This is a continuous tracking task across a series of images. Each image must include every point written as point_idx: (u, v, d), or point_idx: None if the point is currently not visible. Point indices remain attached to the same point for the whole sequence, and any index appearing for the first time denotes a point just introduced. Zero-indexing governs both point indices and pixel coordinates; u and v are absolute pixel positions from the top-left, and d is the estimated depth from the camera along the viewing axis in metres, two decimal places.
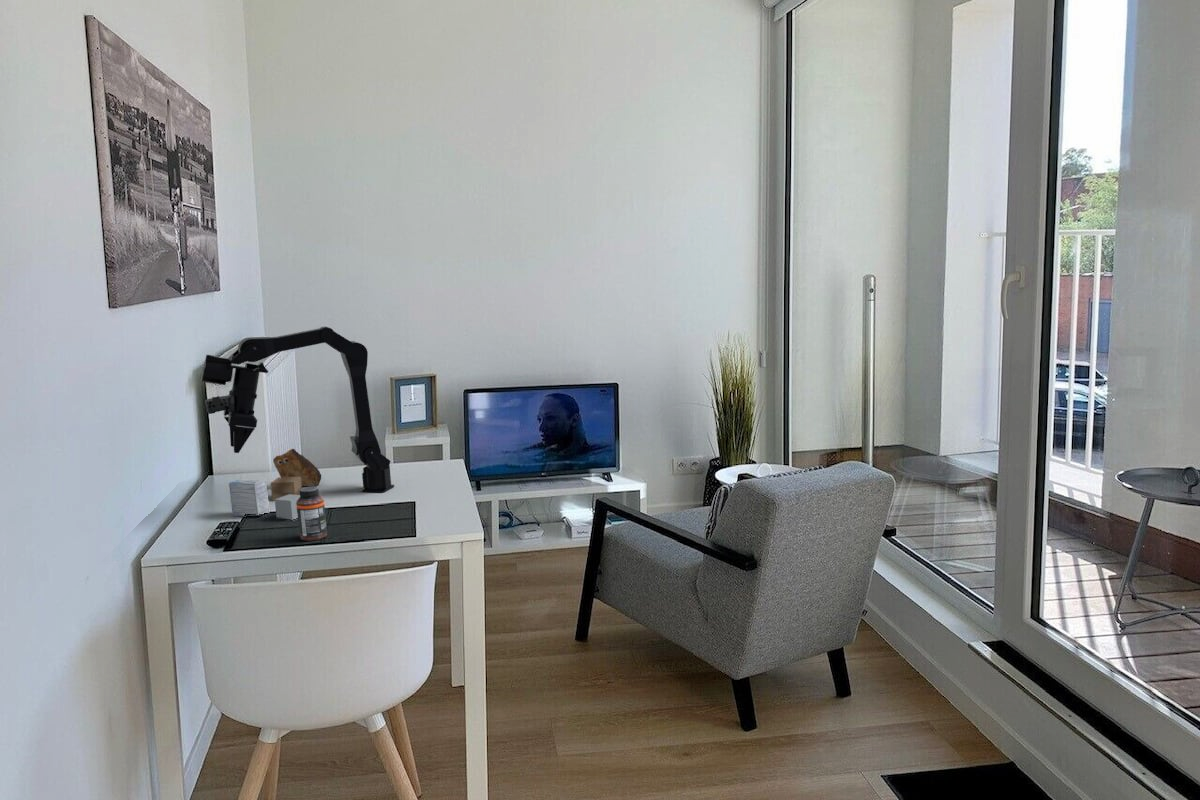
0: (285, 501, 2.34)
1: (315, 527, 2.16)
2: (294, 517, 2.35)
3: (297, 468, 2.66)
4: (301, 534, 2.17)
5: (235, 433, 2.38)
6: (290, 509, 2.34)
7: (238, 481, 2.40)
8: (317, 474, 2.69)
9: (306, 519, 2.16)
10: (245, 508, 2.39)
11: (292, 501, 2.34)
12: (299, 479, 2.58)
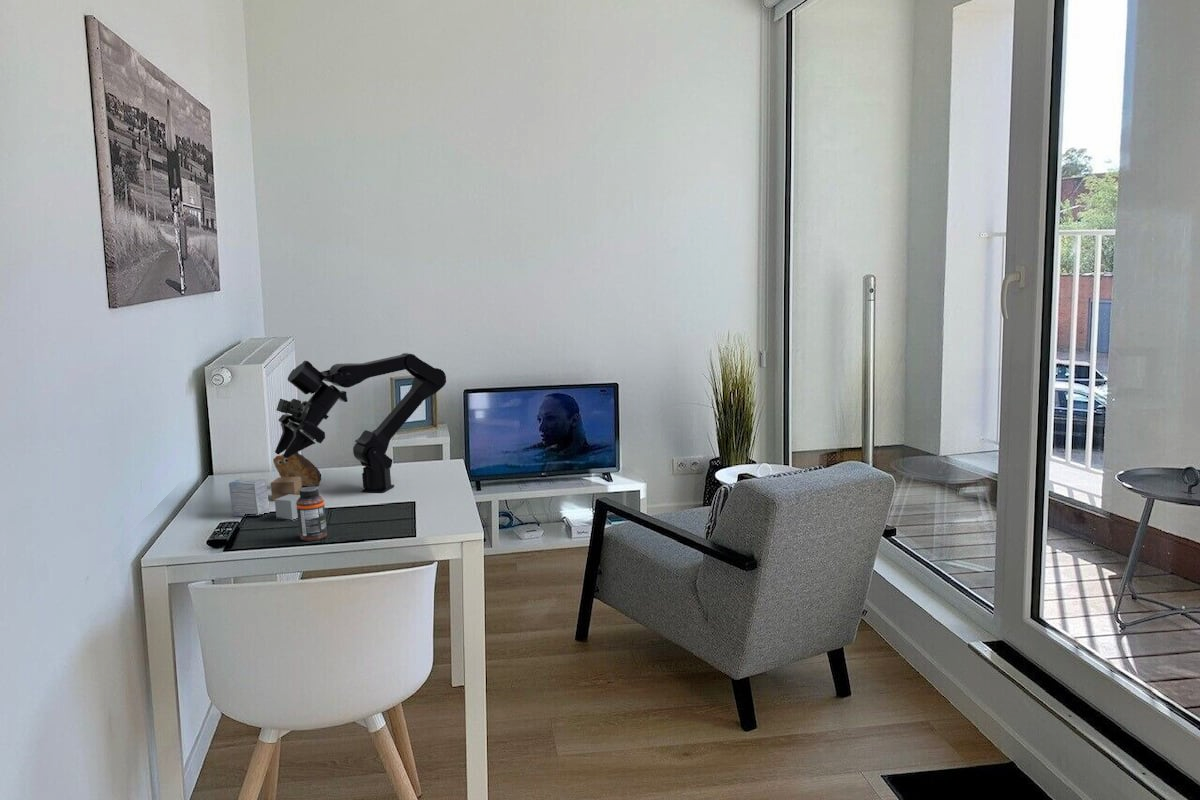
0: (285, 501, 2.34)
1: (315, 527, 2.16)
2: (294, 517, 2.35)
3: (297, 468, 2.66)
4: (301, 534, 2.17)
5: (296, 439, 2.42)
6: (290, 509, 2.34)
7: (238, 481, 2.40)
8: (317, 474, 2.69)
9: (306, 519, 2.16)
10: (245, 508, 2.39)
11: (292, 501, 2.34)
12: (299, 479, 2.58)
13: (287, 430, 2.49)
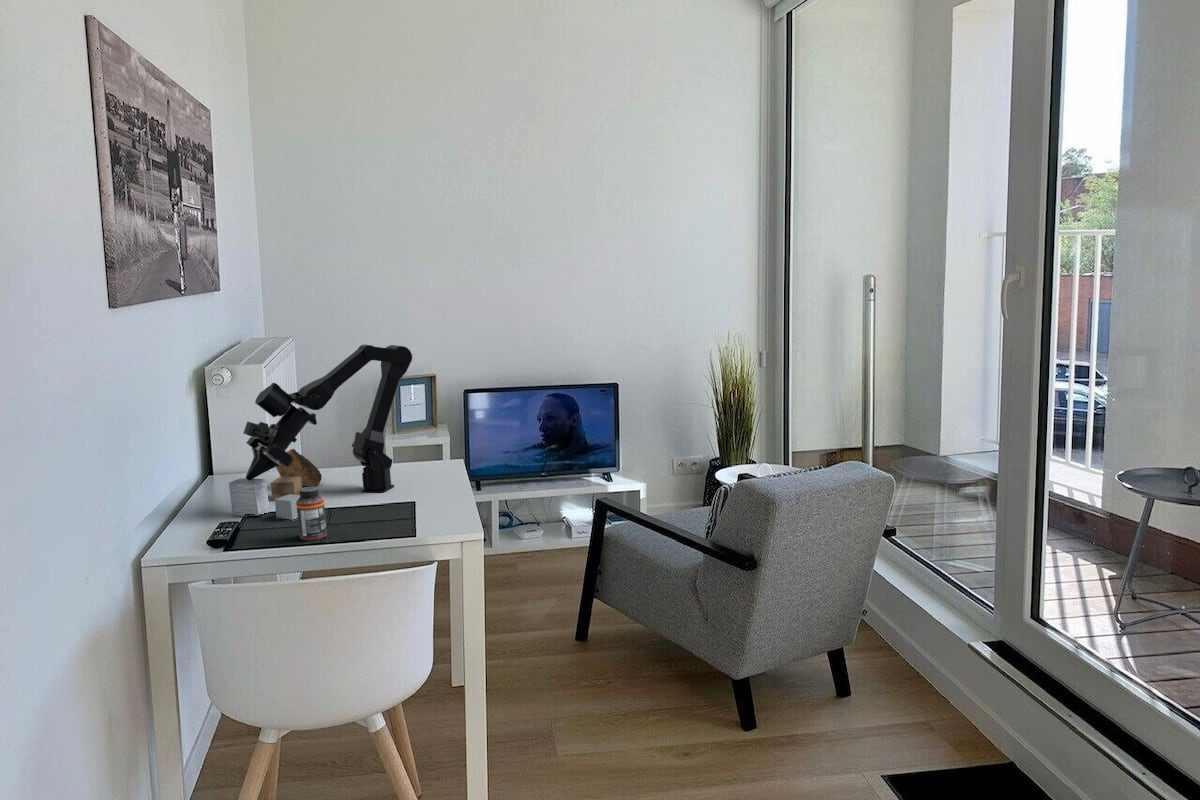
0: (285, 501, 2.34)
1: (315, 527, 2.16)
2: (294, 517, 2.35)
3: (297, 468, 2.66)
4: (301, 534, 2.17)
5: (259, 461, 2.40)
6: (291, 509, 2.34)
7: (238, 481, 2.40)
8: (317, 474, 2.68)
9: (306, 519, 2.16)
10: (245, 508, 2.39)
11: (292, 501, 2.34)
12: (299, 479, 2.58)
13: None
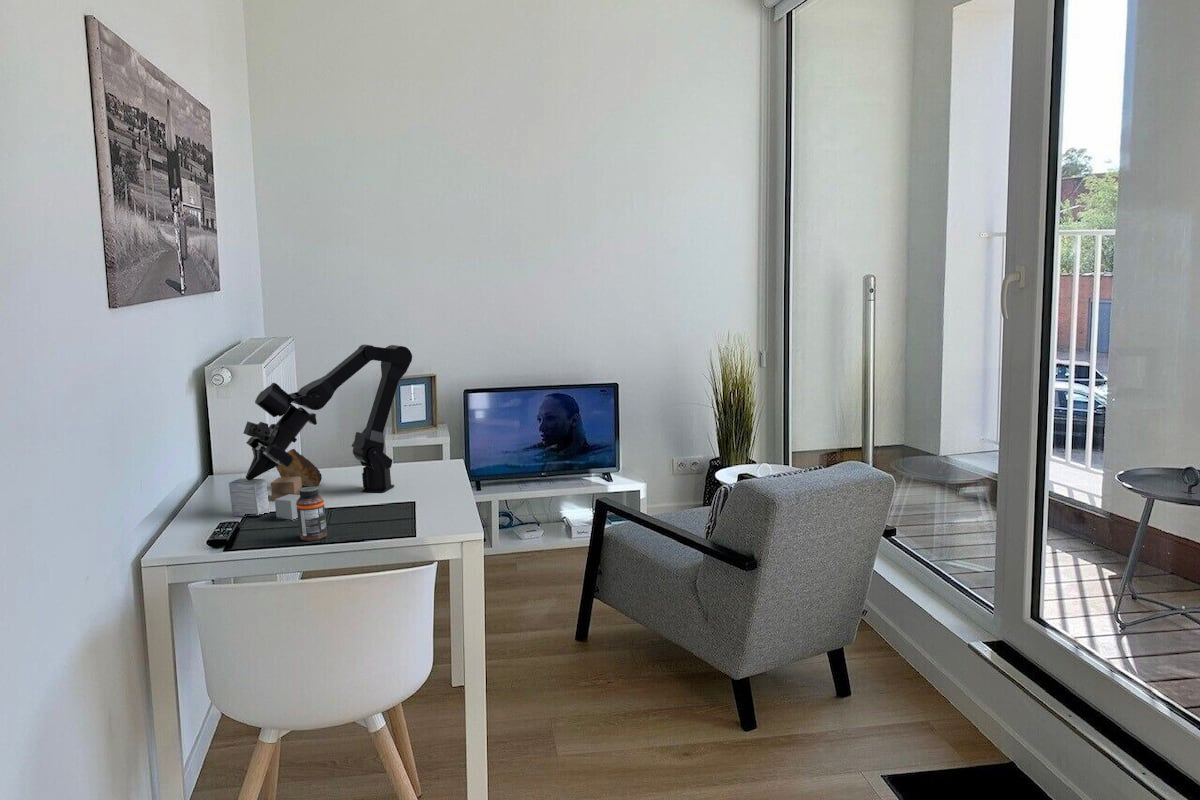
0: (285, 501, 2.34)
1: (314, 527, 2.16)
2: (294, 517, 2.35)
3: (297, 468, 2.66)
4: (301, 534, 2.17)
5: (259, 461, 2.40)
6: (291, 509, 2.34)
7: (238, 481, 2.40)
8: (317, 474, 2.68)
9: (306, 519, 2.16)
10: (245, 508, 2.39)
11: (292, 501, 2.34)
12: (299, 479, 2.58)
13: None
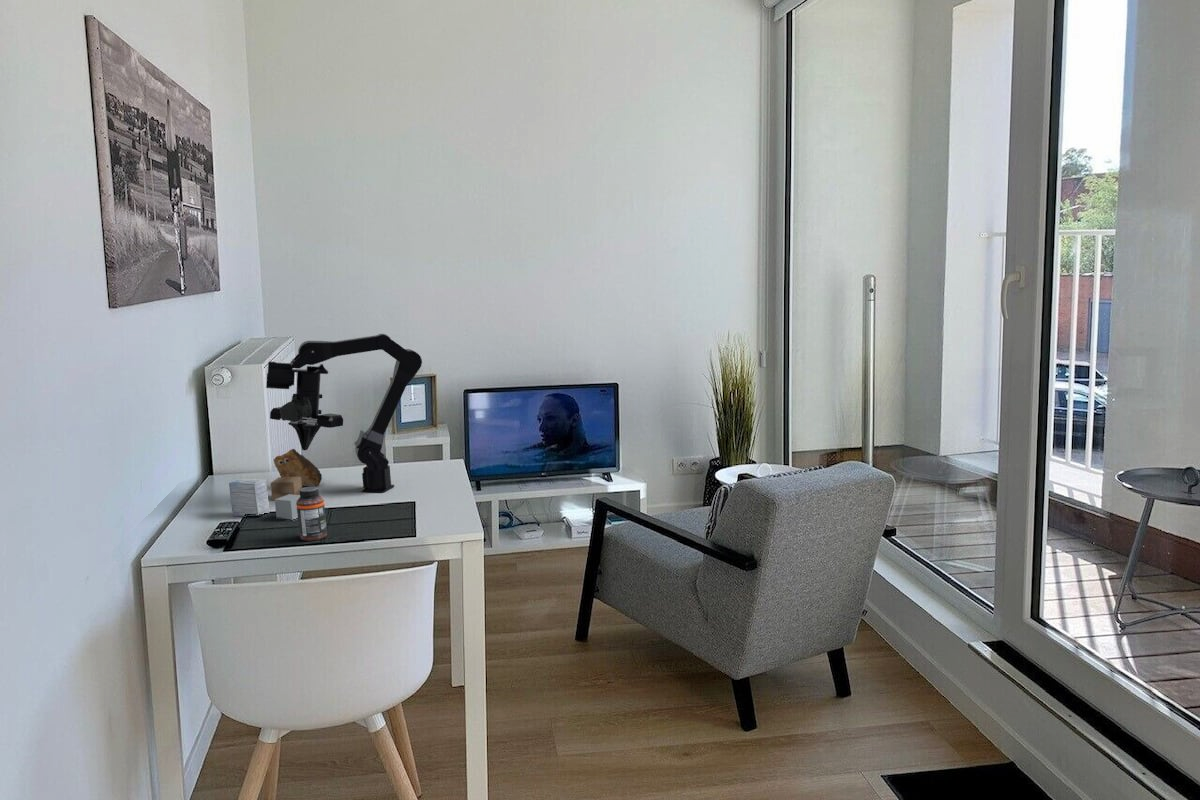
0: (285, 501, 2.34)
1: (315, 527, 2.16)
2: (294, 517, 2.35)
3: (297, 468, 2.66)
4: (301, 534, 2.17)
5: (309, 432, 2.51)
6: (290, 509, 2.34)
7: (238, 481, 2.40)
8: (318, 474, 2.68)
9: (306, 519, 2.16)
10: (245, 508, 2.39)
11: (292, 501, 2.34)
12: (299, 479, 2.58)
13: (300, 426, 2.52)
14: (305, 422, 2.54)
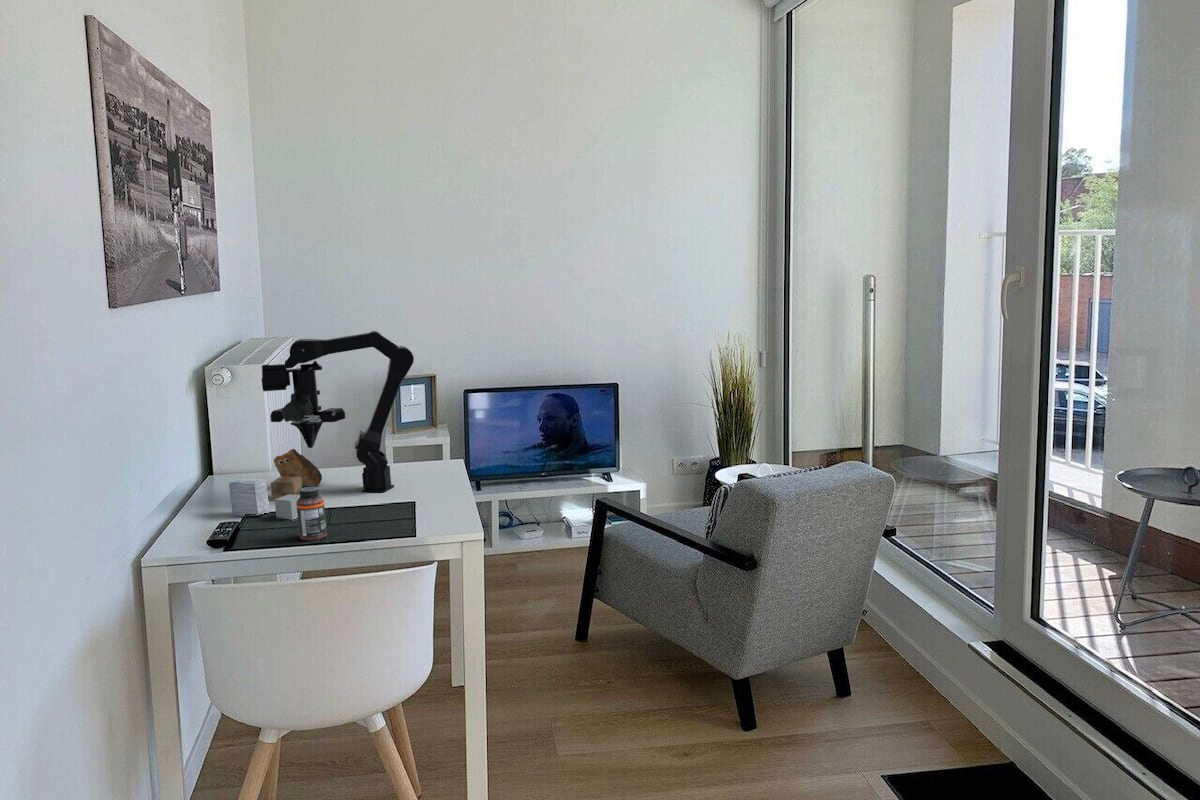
0: (285, 501, 2.34)
1: (315, 527, 2.16)
2: (294, 517, 2.35)
3: (298, 468, 2.66)
4: (301, 534, 2.17)
5: (313, 429, 2.53)
6: (290, 509, 2.34)
7: (238, 481, 2.40)
8: (318, 474, 2.68)
9: (306, 519, 2.16)
10: (245, 508, 2.39)
11: (292, 501, 2.34)
12: (299, 479, 2.58)
13: (303, 425, 2.53)
14: (307, 420, 2.55)
